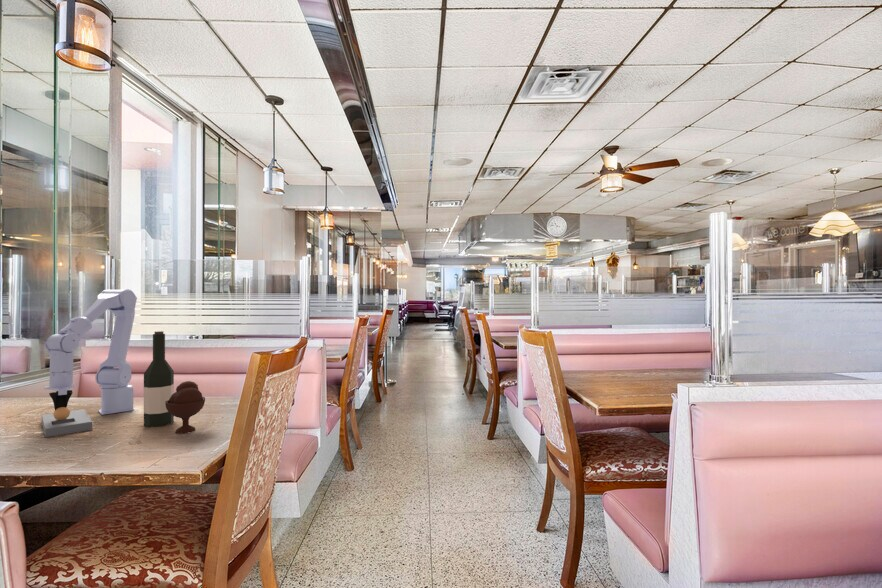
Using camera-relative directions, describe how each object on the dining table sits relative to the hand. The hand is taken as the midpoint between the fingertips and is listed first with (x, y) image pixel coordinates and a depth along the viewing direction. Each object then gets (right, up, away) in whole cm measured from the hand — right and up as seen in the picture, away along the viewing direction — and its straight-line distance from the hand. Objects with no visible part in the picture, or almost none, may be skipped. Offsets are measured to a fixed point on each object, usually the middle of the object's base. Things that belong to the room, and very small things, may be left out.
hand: (60, 414), depth 143 cm
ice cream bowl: (+43, -4, -5) cm, 43 cm away
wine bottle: (+30, -4, +3) cm, 30 cm away
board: (+1, -4, +1) cm, 4 cm away
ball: (+1, 0, -1) cm, 2 cm away
